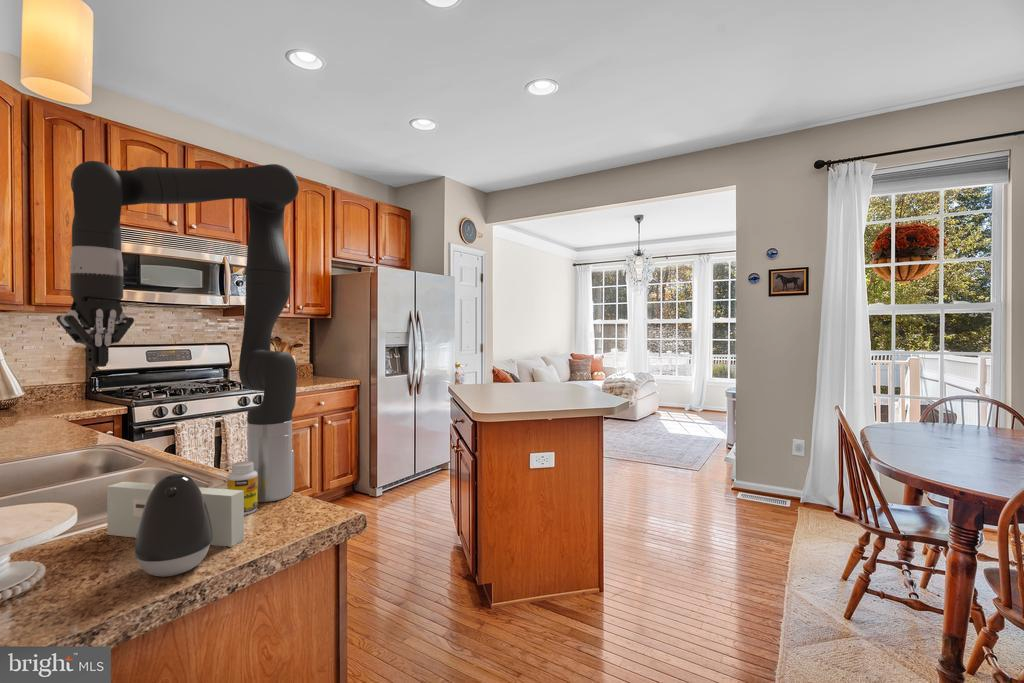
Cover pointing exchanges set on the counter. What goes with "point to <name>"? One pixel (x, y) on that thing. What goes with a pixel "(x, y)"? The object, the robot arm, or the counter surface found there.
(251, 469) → the supplement bottle
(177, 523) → the dark grey egg device
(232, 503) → the rectangular box with label
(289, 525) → the counter surface
